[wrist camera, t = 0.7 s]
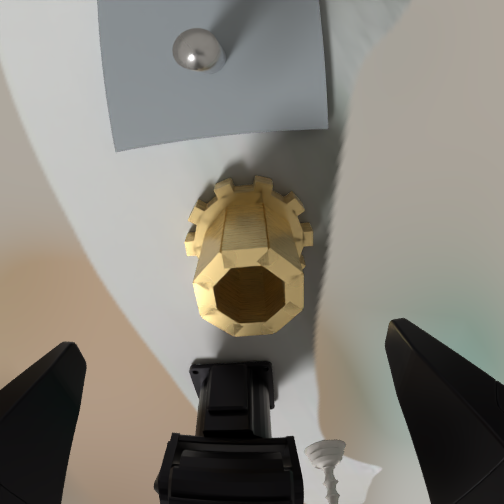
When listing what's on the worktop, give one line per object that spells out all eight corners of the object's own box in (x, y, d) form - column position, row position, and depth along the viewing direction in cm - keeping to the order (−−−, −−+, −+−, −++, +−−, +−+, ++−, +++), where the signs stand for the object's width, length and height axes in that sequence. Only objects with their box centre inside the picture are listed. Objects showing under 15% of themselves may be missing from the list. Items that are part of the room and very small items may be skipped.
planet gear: (309, 279, 21) (327, 346, 15) (199, 287, 21) (186, 356, 16) (308, 171, 17) (335, 213, 12) (179, 183, 17) (150, 229, 12)
